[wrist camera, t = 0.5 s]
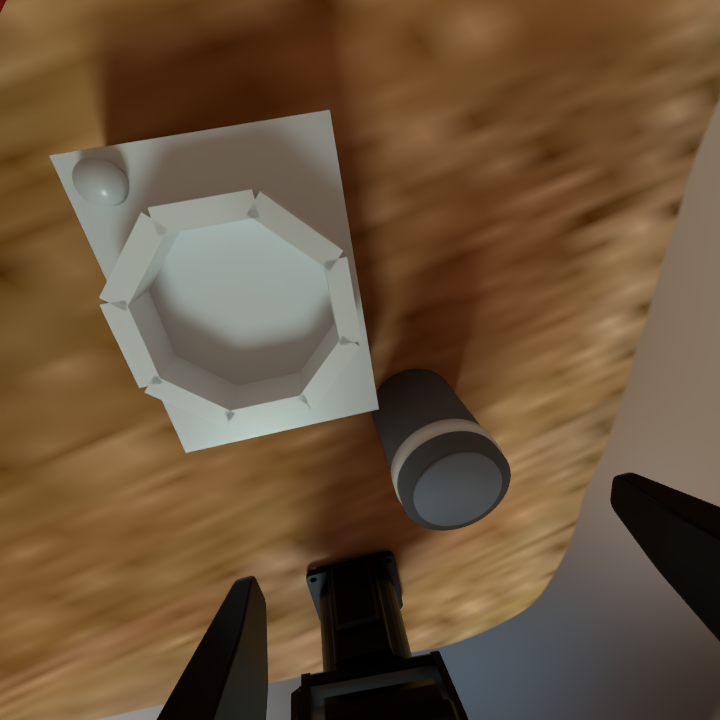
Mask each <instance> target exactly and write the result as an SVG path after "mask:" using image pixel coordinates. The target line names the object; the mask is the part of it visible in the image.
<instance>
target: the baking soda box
mask: <svg viewBox="0 0 720 720" xmlns="http://www.w3.org/2000/svg"><path fill="white" fill-rule="evenodd" d="M5 2H6V0H0V12H1V10H2V8H3V6H4V4H5Z"/></svg>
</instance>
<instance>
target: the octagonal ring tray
mask: <svg viewBox="0 0 720 720" xmlns="http://www.w3.org/2000/svg"><path fill="white" fill-rule="evenodd" d="M50 158H51V160H52V162H53V165H54V167H55V169H56V171H57V173H58V175H59V178H60V180H61V182H62V184H63V186H64V189H65V191H66V193H67V195H68V197H69V199H70V202H71V204H72V206H73V208H74V210H75V212H76V215H77V217H78V219H79V221H80V223H81V225H82V228H83V230H84V232H85V234H86V236H87V239H88V241H89V243H90V245H91V247H92V249H93V252H94V254H95V256H96V258H97V260H98V262H99V265H100V267H101V269H102V271H103V273H104V275H105V278H106V280H107V283H106V285H105V287H104V289H103V291H102V293H101V295H100V297H99V298H100V299H102V300H104V301H105V302H103V303H102V304H100V307H101V309H102V312H103V314H104V316H105V318H106V320H107V322H108V324H109V326H110V328H111V330H112V332H113V334H114V336H115V338H116V341H117V343H118V345H119V347H120V349H121V351H122V353H123V355H124V357H125V359H126V361H127V363H128V365H129V367H130V370H131V372H132V374H133V376H134V378H135V380H136V382H137V384H138V386H139V388H141V387H146V386H148V387H147V389H146V391H145V393H147V394H149V395H151V396H154V397H156V398H158V399H160V400H162V402H163V404H164V406H165V408H166V410H167V412H168V415H169V417H170V419H171V421H172V423H173V425H174V428H175V430H176V432H177V434H178V436H179V439H180V441H181V443H182V445H183V447H184V449H185V452H186V453H187V452H192V451H196V450H200V449H205V448H209V447H214V446H218V445H223V444H227V443H231V442H236V441H240V440H245V439H249V438H254V437H258V436H262V435H267V434H271V433H276V432H280V431H285V430H289V429H293V428H298V427H302V426H307V425H311V424H316V423H320V422H324V421H329V420H333V419H338V418H342V417H347V416H351V415H355V414H360V413H364V412H369V411H373V410H378V409H379V407H378V401H377V395H376V389H375V383H374V377H373V371H372V364H371V358H370V352H369V346H368V340H367V334H366V328H365V322H364V316H363V310H362V303H361V297H360V291H359V285H358V279H357V273H356V267H355V261H354V255H353V249H352V242H351V236H350V230H349V224H348V218H347V212H346V206H345V200H344V194H343V187H342V181H341V175H340V169H339V163H338V157H337V151H336V145H335V139H334V133H333V126H332V120H331V114H330V110H325V111H319V112H313V113H307V114H300V115H294V116H288V117H282V118H276V119H270V120H264V121H258V122H252V123H245V124H239V125H233V126H227V127H221V128H215V129H209V130H203V131H197V132H190V133H184V134H178V135H172V136H166V137H160V138H154V139H148V140H142V141H135V142H129V143H123V144H117V145H111V146H105V147H99V148H93V149H87V150H80V151H74V152H68V153H62V154H56V155H50Z"/></svg>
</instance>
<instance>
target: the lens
mask: <svg viewBox="0 0 720 720" xmlns="http://www.w3.org/2000/svg"><path fill="white" fill-rule="evenodd" d="M376 395H377V401H378V407H379V409H378V410H373V411H372V417H373V420H374V423H375V426H376V429H377V432H378V435H379V438H380V441H381V444H382V447H383V450H384V453H385V456H386V458H387V461H388V464H389V467H390V470H391V479H392V483H393V486H394V489H395V492H396V495H397V497H398V499H399V501H400V502H401V504H402V505H403V508H404V510H405V513H406V514H407V516H408V517H409V518H410V519H411V520H412V521H413V522H415V523H416V524H418V525H420V526H422V527H424V528H427V529H432V530H453V529H458V528H462V527H465V526H468V525H470V524H473V523H475V522H477V521H479V520H480V519H482V518H483V517H485V516H486V515H488V514H489V513H490V512H491V511H492V510H494V509H495V508H496V506H497V505H498V504H499V503H500V502H501V500H502V499H503V498H504V496H505V494H506V492H507V490H508V487H509V483H510V477H511V474H510V467H509V464H508V462H507V460H506V458H505V457H504V455H503V454H502V451H501V449H500V447H499V446H498V444H497V443H496V441H495V440H494V439H493V438H492V436H491V435H490V434H489V433H488V432H487V431H486V430H485V429H484V428H483V427H482V426H480V425H479V423H478V422H477V421H476V419H475V418H474V417H473V416H472V414H471V413H470V412H469V411H468V409H467V408H466V407H465V405H464V404H463V403H462V402H461V400H460V399H459V398H458V396H457V395H456V394H455V393H454V391H453V390H452V389H451V387H450V386H449V385H448V384H447V382H446V381H445V380H444V379H443V378H442V377H441V376H440V375H438V374H436V373H435V372H432V371H429V370H425V369H410V370H406V371H402V372H400V373H397V374H396V375H394V376H392V377H391V378H389V379H388V380H387V381H385V382H384V383H383V384H382V386H381V387H380V388H379V389H378V391H377V393H376Z"/></svg>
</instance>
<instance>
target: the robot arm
mask: <svg viewBox="0 0 720 720" xmlns="http://www.w3.org/2000/svg"><path fill="white" fill-rule="evenodd" d="M610 501H611V505H612V507H613V509H614V511H615V512H616V514H617V515H618V516H619V518H620V519H621V521H622V522H623V523H624V525H625V526H626V527H627V529H628V530H629V532H630V533H631V534H632V536H633V537H634V539H635V540H636V541H637V543H638V544H639V545H640V547H641V548H642V549H643V551H644V552H645V554H646V555H647V556H648V558H649V559H650V560H651V562H652V563H653V564H654V566H655V567H656V568H657V569H658V571H659V572H660V573H661V574H662V575H663V577H664V578H665V579H666V580H667V581H668V583H669V584H670V585H671V586H672V587H673V588H674V589H675V590H676V592H677V593H678V594H679V595H680V596H681V598H682V599H683V600H684V601H685V602H686V603H687V604H688V605H689V607H690V608H691V609H692V610H693V611H694V613H695V614H696V615H697V616H698V617H699V618H700V619H701V621H702V622H703V623H704V624H705V625H706V626H707V628H708V629H709V630H710V631H711V632H712V633H713V634H714V635H715V637H716V638H717V639H718V640H719V641H720V507H718V506H716V505H713V504H711V503H708V502H705V501H703V500H701V499H698V498H696V497H693V496H691V495H688V494H686V493H683V492H680V491H678V490H675V489H673V488H670V487H668V486H665V485H663V484H660V483H658V482H655V481H653V480H650V479H648V478H645V477H643V476H640V475H638V474H635V473H625V474H621V475H617V476H615V477H614V478H613V482H612V490H611V499H610ZM306 580H307V584H308V587H309V590H310V593H311V596H312V599H313V602H314V605H315V607H316V610H317V613H318V616H319V619H320V622H321V639H322V656H323V673H317V674H311V675H310V673H306V674H301V686H299V688H298V689H297V690H295V691H294V692H293V693H292V694H291V720H468V718H467V715H466V713H465V710H464V708H463V706H462V703H461V701H460V699H459V697H458V694H457V692H456V689H455V687H454V685H453V683H452V680H451V678H450V675H449V673H448V671H447V669H446V666H445V664H444V661H443V659H442V657H441V655H440V652H439V651H432V652H430V654H425V655H420V656H414V657H412V655H411V651H410V647H409V643H408V639H407V635H406V631H405V627H404V623H403V619H402V615H401V611H400V609H401V608H402V606H403V603H402V598H401V592H400V587H399V581H398V575H397V570H396V564H395V559H394V555H393V553H392V552H390V551H386V552H382V553H378V554H374V555H370V556H366V557H362V558H358V559H354V560H350V561H347V562H343V563H339V564H335V565H331V566H327V567H323V568H319V569H315V570H311V571H309V572H308V573H307V574H306ZM267 694H268V659H267V621H266V603H265V598H264V596H263V593H262V591H261V589H260V587H259V585H258V582H257V580H256V578H255V577H254V576H249V577H245V578H241V579H238V580H237V581H235V583H234V584H233V586H232V587H231V589H230V591H229V593H228V595H227V596H226V598H225V600H224V602H223V603H222V605H221V607H220V609H219V610H218V612H217V614H216V616H215V617H214V619H213V621H212V623H211V625H210V626H209V628H208V630H207V632H206V633H205V635H204V637H203V639H202V640H201V642H200V644H199V646H198V647H197V649H196V651H195V653H194V655H193V656H192V658H191V660H190V662H189V663H188V665H187V667H186V669H185V670H184V672H183V674H182V676H181V677H180V679H179V681H178V683H177V685H176V686H175V688H174V690H173V692H172V693H171V695H170V697H169V699H168V700H167V702H166V704H165V706H164V708H163V709H162V711H161V713H160V714H159V717H158V718H157V720H266V710H267Z"/></svg>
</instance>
